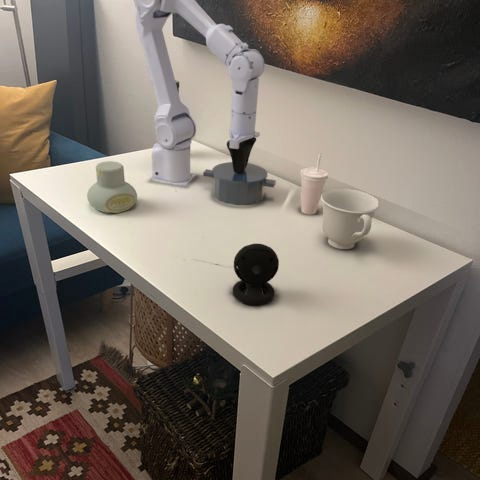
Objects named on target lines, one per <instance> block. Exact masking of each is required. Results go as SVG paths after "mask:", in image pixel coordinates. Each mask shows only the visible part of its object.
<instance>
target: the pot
mask: <svg viewBox="0 0 480 480" xmlns="http://www.w3.org/2000/svg"><path fill="white" fill-rule="evenodd" d="M202 176H203V177H206V178H212V179H213V180H212V181H213V182H212V183H213V184H212V195H213V198H215V199H216V200H217V201H219V202H222V203H224V204H227V205H233V206H250V205H254V204H255V205H256V204H258V203H260V202H261V201H263V199H264V194H265V187H267V188H272V189H273V188H275V186H276V185H277V180H275V179H269V178H266V179H265V180H263V181H261V182H258V183H252V184H236V183H230V182H226V181H223V180H220V179H218V178H216V177H215V176H214V175H213V173H212V169H205V170H204V171H202Z"/></svg>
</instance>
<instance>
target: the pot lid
mask: <svg viewBox="0 0 480 480" xmlns="http://www.w3.org/2000/svg"><path fill="white" fill-rule="evenodd" d="M245 164H246V162H245ZM211 170H212V173H213V175H214V176H215V177H216V178H218V179H220V180H223V181H226V182H230V183H236V184H252V183H258V182H261V181H263V180H265V179H268V171H267V170H266V169H265V168H263V167H262V166H260V165H257V164H253V163H250V162H248V163H247V167H246V169H245V167H244V170H243V173H236V172H234V170H233V164H232V161H227V162H222V163H219V164H216V165H215V166H213V167H212V169H211Z"/></svg>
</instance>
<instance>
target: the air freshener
mask: <svg viewBox="0 0 480 480" xmlns="http://www.w3.org/2000/svg"><path fill="white" fill-rule="evenodd" d="M124 168H125V167H124V165H123V164H122V163H121V162H119V161H112V160H111V161H109V160H108V161H107V160H106V161H101V162H98V163H97V164H96V166H95V171H96V172H95V173H96V182H94V183H93V184H92V185H91V186H90V187H89V188H88V191H87V193H86V198H87V201H88V203H89V205H90V206H91V207H92V208H94V209H95V210H97V211H99V212H102V213H107V214H119V213H123V212H126V211H128V210H129V209H131V208H132V207H133V206H134V205H135V204H136V202H137V199H138V193H137V191H136V189H135V187H134V186H133V185H131V184H130V183H129V182H127V181H125V179H126V178H125V169H124Z"/></svg>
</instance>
